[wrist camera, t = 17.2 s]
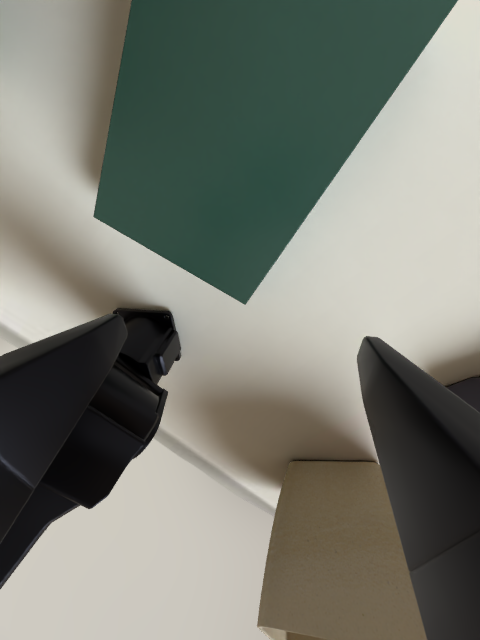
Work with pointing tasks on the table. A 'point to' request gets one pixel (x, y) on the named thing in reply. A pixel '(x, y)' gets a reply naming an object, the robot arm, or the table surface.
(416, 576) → the robot arm
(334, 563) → the flower pot
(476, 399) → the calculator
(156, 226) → the book
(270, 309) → the table surface
